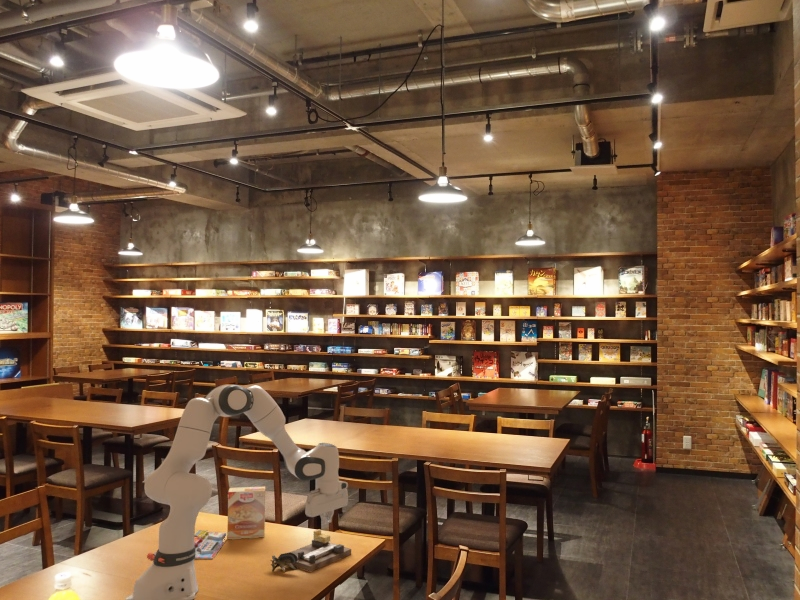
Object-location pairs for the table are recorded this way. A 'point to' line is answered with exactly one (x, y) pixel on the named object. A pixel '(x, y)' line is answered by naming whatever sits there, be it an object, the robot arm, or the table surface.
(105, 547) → the table surface
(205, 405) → the robot arm
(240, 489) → the coffeecake box
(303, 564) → the base
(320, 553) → the bar
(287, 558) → the eagle figurine
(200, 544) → the puzzle board
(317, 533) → the brass bolt
